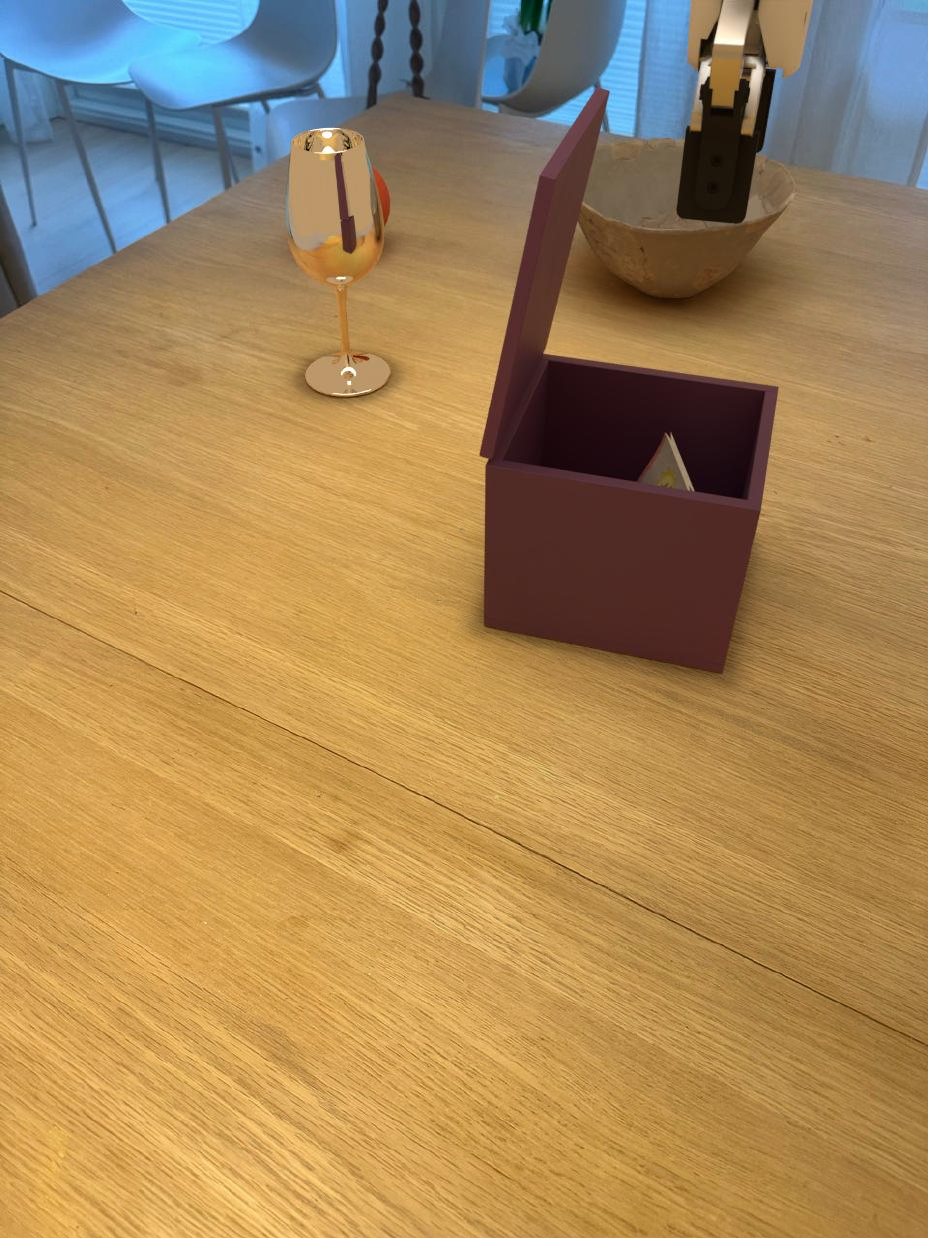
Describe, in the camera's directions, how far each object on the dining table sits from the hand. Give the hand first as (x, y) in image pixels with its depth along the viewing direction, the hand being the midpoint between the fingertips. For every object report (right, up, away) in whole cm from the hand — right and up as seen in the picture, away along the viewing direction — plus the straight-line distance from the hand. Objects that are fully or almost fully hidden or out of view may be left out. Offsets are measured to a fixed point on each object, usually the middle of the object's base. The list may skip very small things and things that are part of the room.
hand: (721, 181), depth 53 cm
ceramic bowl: (+7, +12, +54) cm, 56 cm away
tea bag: (0, -20, +18) cm, 27 cm away
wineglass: (-23, -1, +40) cm, 46 cm away
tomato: (-26, +18, +60) cm, 67 cm away
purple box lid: (-8, -3, +6) cm, 11 cm away
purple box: (-2, -20, +19) cm, 28 cm away
